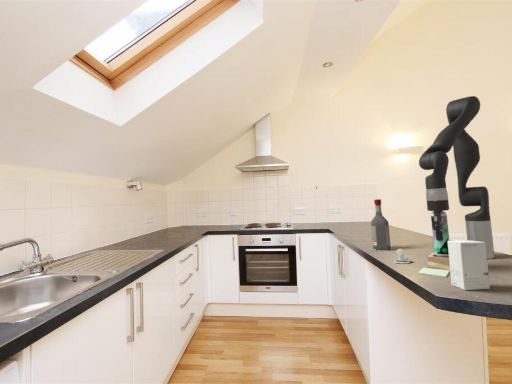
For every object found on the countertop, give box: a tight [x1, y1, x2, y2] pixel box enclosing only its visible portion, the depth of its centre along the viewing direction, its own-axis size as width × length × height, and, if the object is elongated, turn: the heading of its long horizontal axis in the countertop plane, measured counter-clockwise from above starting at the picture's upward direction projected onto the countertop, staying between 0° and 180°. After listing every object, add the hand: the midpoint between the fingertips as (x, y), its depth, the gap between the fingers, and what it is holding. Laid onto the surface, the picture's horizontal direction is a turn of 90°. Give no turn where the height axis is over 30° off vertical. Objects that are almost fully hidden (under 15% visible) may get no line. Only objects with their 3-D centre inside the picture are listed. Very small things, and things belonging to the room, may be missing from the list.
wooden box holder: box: [426, 252, 450, 271], centre depth 106 cm, size 10×10×5 cm
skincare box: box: [447, 240, 491, 291], centre depth 83 cm, size 8×6×15 cm
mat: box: [417, 267, 450, 278], centre depth 100 cm, size 9×9×1 cm
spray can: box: [430, 211, 450, 256], centre depth 107 cm, size 6×6×20 cm
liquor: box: [370, 198, 392, 251], centre depth 153 cm, size 9×9×30 cm
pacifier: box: [392, 248, 411, 265], centre depth 119 cm, size 7×6×6 cm
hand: (441, 239), depth 107 cm, fingers closed on spray can, 5 cm apart
